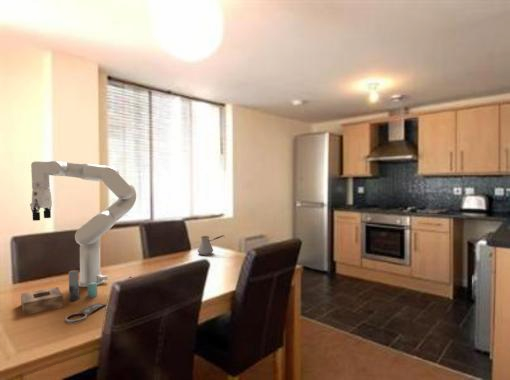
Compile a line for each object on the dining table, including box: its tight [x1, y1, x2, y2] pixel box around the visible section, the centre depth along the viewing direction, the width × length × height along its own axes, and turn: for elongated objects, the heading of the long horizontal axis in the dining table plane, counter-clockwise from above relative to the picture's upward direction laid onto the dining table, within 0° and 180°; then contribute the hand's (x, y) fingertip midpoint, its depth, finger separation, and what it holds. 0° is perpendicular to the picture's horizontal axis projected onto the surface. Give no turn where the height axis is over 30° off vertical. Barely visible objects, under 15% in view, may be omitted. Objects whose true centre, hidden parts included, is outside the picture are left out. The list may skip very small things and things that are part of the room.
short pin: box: [87, 282, 98, 298], centre depth 155 cm, size 4×4×6 cm
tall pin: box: [68, 269, 80, 302], centre depth 151 cm, size 4×4×13 cm
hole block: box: [20, 287, 64, 316], centre depth 143 cm, size 14×14×5 cm
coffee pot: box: [197, 234, 226, 256], centre depth 239 cm, size 21×12×15 cm, turn 71°
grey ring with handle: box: [64, 302, 107, 324], centre depth 135 cm, size 8×19×2 cm, turn 167°
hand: (42, 219), depth 167 cm, fingers open, 9 cm apart
